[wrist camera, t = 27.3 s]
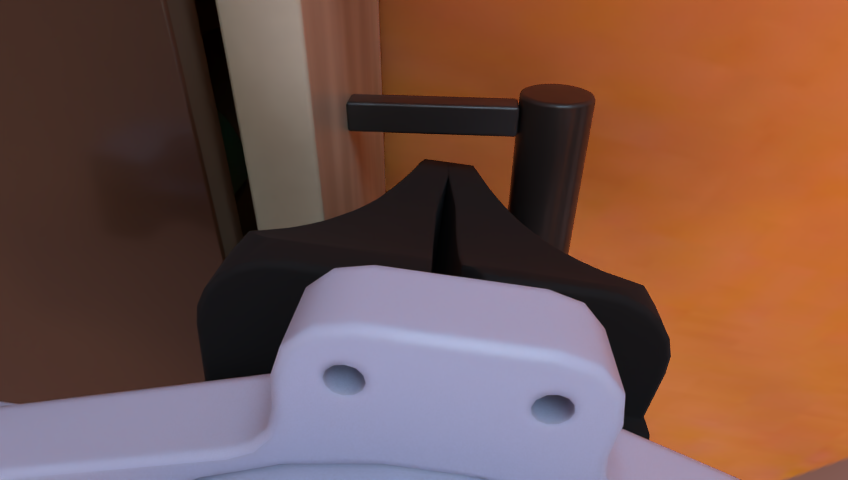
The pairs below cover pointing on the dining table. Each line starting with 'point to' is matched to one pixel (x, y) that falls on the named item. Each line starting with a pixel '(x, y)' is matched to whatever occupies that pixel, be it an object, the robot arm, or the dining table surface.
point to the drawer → (366, 116)
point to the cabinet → (106, 196)
